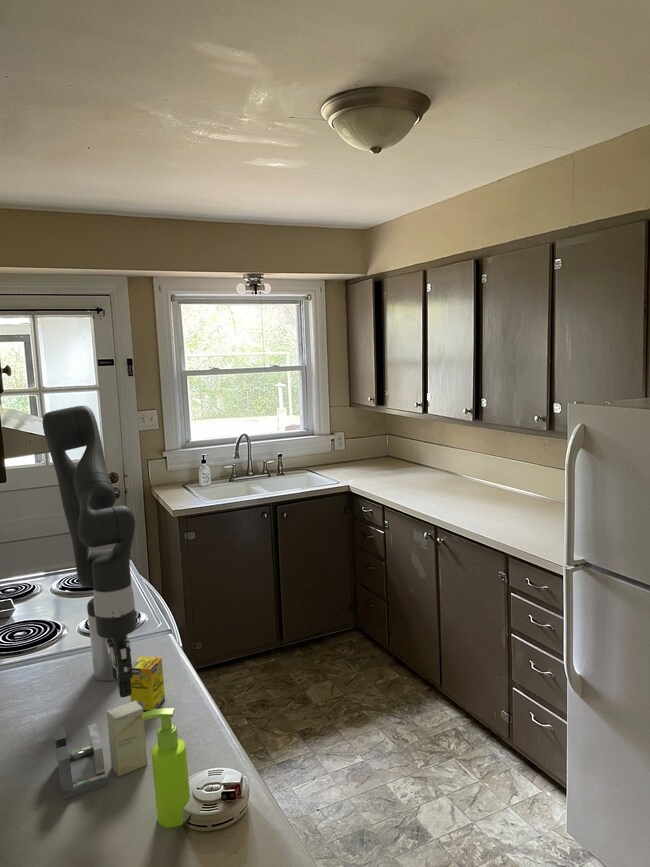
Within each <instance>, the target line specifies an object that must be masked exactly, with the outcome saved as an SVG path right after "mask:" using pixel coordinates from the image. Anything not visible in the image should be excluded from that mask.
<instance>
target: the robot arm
mask: <svg viewBox="0 0 650 867" xmlns="http://www.w3.org/2000/svg"><path fill="white" fill-rule="evenodd" d="M42 429H43V433H44V437H45V441H46V444H47V448H48V450H49V451H48V452H49V453H50V457H51V460H52V463H53V467H54V470H55V473H56V478H57V481H58V487H59V493H60V497H61V498H60V500H61V502H62V507H63V508H62V509H63V511H64V516H65V518H66V522H67V526H68V530H69V533H70V538H71V542H72V548H73V554H74V562H75V569H76V575H77V578H78V582H79V584H80V585H81V587H84V588H93V597H92V598H91V599H90V600H89V601H88V602H87V606H86V607H87V609H86V610H87V611H86V612H87V618H88V628H89V636H90V637H89V638H90V646H91V647H90V648H91V657H92V668H93V676H94V679H96V680H98V681H101V682H108V681H115V680H117V681H118V693H119V697H120V698H125V697H129V696H130V695H131V694H132V688H131V678H133V673H132V664H133V663H132V661H133V660H132V654H131V642H130V639H129V634H132V633H133V632H134V631H135V630H136V628H137V615H136V614H137V613H136V605H135V604H136V603H135V594H134V589H133V586H132V578H131V577H132V576H131V566H130V565H131V564H130V563H131V562H130V561H131V553H132V552H131V551H132V546H133V541H134V536H135V532H136V517H135V514H134V512H133V511H132V509H131V508H129V507H128V506H126V505H116V506H114V505H115V503H116V499H117V498H116V493H115V489H114V487H113V484H112V482H111V479H110V478H111V477H110V475H109V473H108V470H107V466H106V460H105V454H104V449H103V443H102V439H101V435H100V430H99V426H98V421H97V420H96V416H95V414H94V412H93V410H92V408H90V407H89V406H88V405H76V406H71V407H66V408H61V409H57V410H52V411H48V412H46V413H45V414H43V417H42ZM83 447H85V450H84V453H83V454H82V456H81V458H80V460H79V461H78V463H77V464H75V463H74V462H73V460H72V459H71V458H70V457H69V455H68V454H67V451H70V450H74V449H79V448H83ZM109 545H114V547H113V548H108V549H106V548H105V549H97V550H90V549H89V548H97V547H102V546H103V547H104V546H109Z"/></svg>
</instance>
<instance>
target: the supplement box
mask: <svg viewBox="0 0 650 867" xmlns="http://www.w3.org/2000/svg"><path fill="white" fill-rule="evenodd" d="M162 658H163V657H158V656H157V657H155V656H139V657H138V658H137V659H136V660H135V661H134V662H133V663H131V664H132V673H133V678H131V688H132V694H131V695H130V702H132V701H135V700H136V701H137V702H138V703H139V704H140V705H141V707H142V708H143V713H144V712H147V711H150V710H154V709H159V707H160V706H161V705H162V704H163V703H164V702H165V700H166V694H165V683H164V682H165V680H164V672H163V662H162V661H163V659H162Z"/></svg>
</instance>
